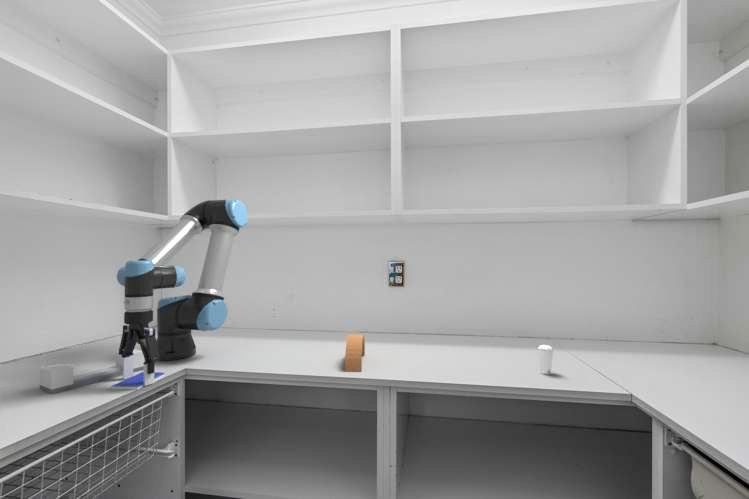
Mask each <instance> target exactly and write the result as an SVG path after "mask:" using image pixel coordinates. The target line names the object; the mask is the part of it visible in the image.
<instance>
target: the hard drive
mask: <svg viewBox="0 0 749 499" xmlns="http://www.w3.org/2000/svg"><path fill="white" fill-rule="evenodd" d="M164 376H165V372H158V371H157V372H155V371H154V382H155V381H158V380H159V379H160V378H163V377H164ZM143 387H145V386H144V371H142V372H140V373H139V372H138V373H137V374H135V375H133V377H130V378H127V379H123V380H121V381H119V382H117V383H115V384H113V385H111V386H110V390H140V389H142V388H143Z"/></svg>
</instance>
